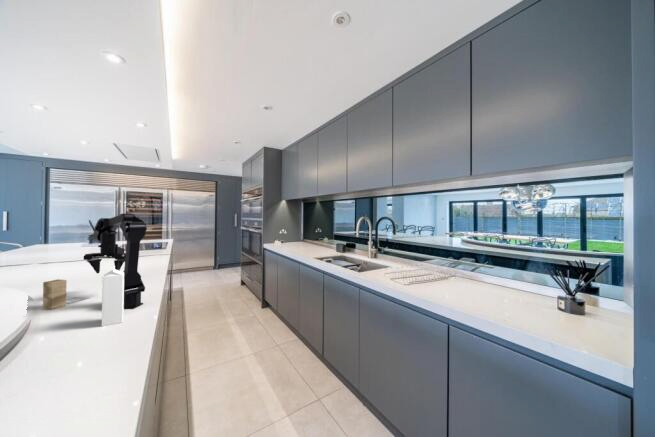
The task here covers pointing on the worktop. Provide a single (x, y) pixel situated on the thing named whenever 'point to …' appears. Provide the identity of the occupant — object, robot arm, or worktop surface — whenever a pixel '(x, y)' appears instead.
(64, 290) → the oak block
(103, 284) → the milk
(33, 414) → the worktop surface
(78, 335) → the worktop surface
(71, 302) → the tile
